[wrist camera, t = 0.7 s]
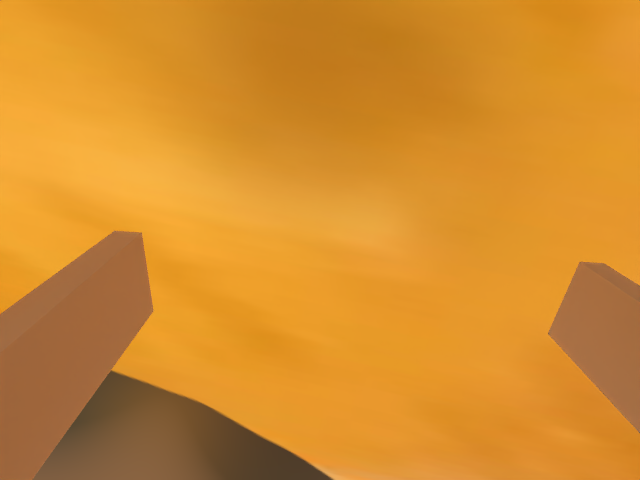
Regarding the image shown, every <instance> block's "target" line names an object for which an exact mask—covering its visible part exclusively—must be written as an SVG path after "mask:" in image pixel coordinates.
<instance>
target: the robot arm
mask: <svg viewBox="0 0 640 480" xmlns="http://www.w3.org/2000/svg"><path fill="white" fill-rule="evenodd" d="M152 312H153V305H152V298H151V292H150V285H149V278H148V272H147V265H146V258H145V252H144V245H143V238H142V233H139V232H124V231H114V232H112V233H111V234H110V235H108V236H107V237H106V238H104V239H103V240H101V241H100V242H99V243H97V244H96V245H95V246H93V247H92V248H91V249H89V250H88V251H86V252H85V253H84V254H82V255H81V256H80V257H78V258H77V259H75V260H74V261H73V262H71V263H70V264H69V265H67V266H66V267H64V268H63V269H62V270H60V271H59V272H58V273H56V274H55V275H53V276H52V277H51V278H49V279H48V280H47V281H45V282H44V283H42V284H41V285H40V286H38V287H37V288H36V289H34V290H33V291H31V292H30V293H29V294H27V295H26V296H25V297H23V298H22V299H20V300H19V301H18V302H16V303H15V304H14V305H12V306H11V307H9V308H8V309H7V310H5V311H4V312H3V313H1V314H0V480H32V479H33V477H34V476H35V475H36V473H37V472H38V470H39V469H40V468H41V466H42V465H43V463H44V462H45V461H46V459H47V458H48V457H49V455H50V454H51V452H52V451H53V450H54V448H55V447H56V445H57V444H58V443H59V441H60V440H61V439H62V437H63V436H64V434H65V433H66V432H67V430H68V429H69V427H70V426H71V425H72V423H73V422H74V421H75V419H76V418H77V416H78V415H79V414H80V412H81V411H82V409H83V408H84V407H85V405H86V404H87V402H88V401H89V400H90V398H91V397H92V396H93V394H94V393H95V391H96V390H97V388H98V387H99V386H100V384H101V383H102V382H103V380H104V379H105V377H106V376H107V375H108V373H109V372H110V371H111V369H112V368H113V366H114V365H115V364H116V362H117V361H118V359H119V358H120V357H121V355H122V354H123V352H124V351H125V350H126V348H127V347H128V346H129V344H130V343H131V341H132V340H133V339H134V337H135V336H136V334H137V333H138V332H139V330H140V329H141V327H142V326H143V325H144V323H145V322H146V321H147V319H148V318H149V316H150V315H151V314H152ZM548 334H549V335H550V336H551V338H552V339H553V340H554V341H555V342H556V343H557V344H558V345H559V346H560V347H561V348H562V349H563V351H564V352H565V353H566V354H567V355H568V356H569V357H570V358H571V359H572V360H573V361H574V362H575V364H576V365H577V366H578V367H579V368H580V369H581V370H582V371H583V372H584V373H585V374H586V375H587V377H588V378H589V379H590V380H591V381H592V382H593V383H594V384H595V385H596V386H597V387H598V388H599V390H600V391H601V392H602V393H603V394H604V395H605V396H606V397H607V398H608V399H609V400H610V401H611V402H612V404H613V405H614V406H615V407H616V408H617V409H618V410H619V411H620V412H621V413H622V414H623V415H624V417H625V418H626V419H627V420H628V421H629V422H630V423H631V424H632V425H633V426H634V427H635V428H636V430H637V431H638V432H639V433H640V286H639V285H638V284H636V283H634V282H633V281H631V280H630V279H628V278H626V277H625V276H623V275H622V274H620V273H618V272H617V271H615V270H614V269H612V268H610V267H609V266H607V265H606V264H604V263H589V262H580V263H579V265H578V267H577V269H576V272H575V274H574V276H573V278H572V281H571V283H570V285H569V287H568V290H567V292H566V294H565V296H564V299H563V301H562V303H561V305H560V308H559V310H558V312H557V314H556V317H555V319H554V321H553V324H552V326H551V328H550V330H549V333H548Z"/></svg>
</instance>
